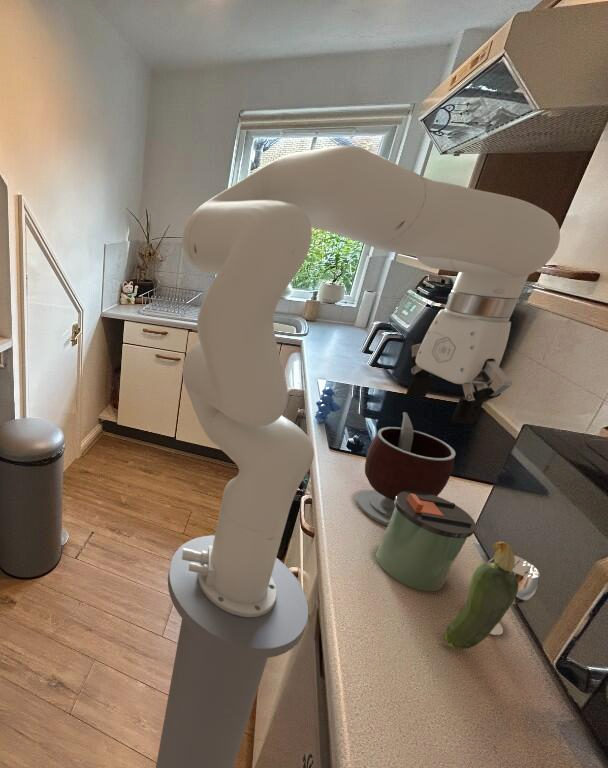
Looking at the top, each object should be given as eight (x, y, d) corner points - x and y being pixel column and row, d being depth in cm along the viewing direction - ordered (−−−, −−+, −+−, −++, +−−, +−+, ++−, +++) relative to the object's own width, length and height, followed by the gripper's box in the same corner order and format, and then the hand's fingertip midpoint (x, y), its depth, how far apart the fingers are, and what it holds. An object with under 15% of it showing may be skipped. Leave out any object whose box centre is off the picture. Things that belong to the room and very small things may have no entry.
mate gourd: (439, 540, 80) (480, 454, 73) (360, 522, 84) (391, 439, 77) (411, 494, 94) (443, 417, 86) (344, 480, 98) (369, 406, 90)
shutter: (415, 513, 68) (419, 505, 67) (406, 499, 71) (409, 492, 70) (443, 517, 67) (447, 510, 66) (432, 504, 70) (435, 496, 69)
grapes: (334, 433, 120) (345, 396, 115) (309, 427, 123) (319, 391, 118) (336, 418, 129) (346, 384, 125) (312, 413, 132) (322, 379, 128)
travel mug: (386, 584, 70) (413, 523, 65) (364, 540, 79) (386, 483, 74) (459, 600, 67) (493, 537, 62) (427, 552, 77) (454, 494, 72)
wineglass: (497, 645, 60) (533, 586, 56) (452, 612, 65) (483, 556, 61) (516, 631, 63) (553, 573, 58) (472, 600, 67) (503, 545, 63)
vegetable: (476, 651, 59) (540, 546, 52) (474, 672, 56) (541, 565, 49) (439, 630, 62) (493, 528, 54) (435, 649, 59) (492, 545, 52)
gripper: (412, 295, 69) (380, 387, 75) (510, 318, 53) (459, 433, 59) (455, 296, 69) (419, 389, 75) (565, 321, 53) (508, 435, 60)
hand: (437, 408), depth 67 cm, fingers open, 9 cm apart
